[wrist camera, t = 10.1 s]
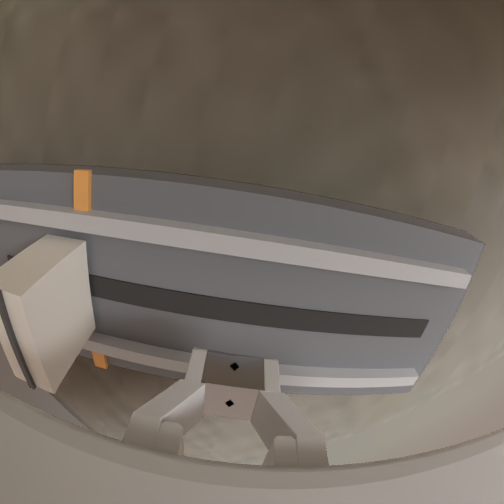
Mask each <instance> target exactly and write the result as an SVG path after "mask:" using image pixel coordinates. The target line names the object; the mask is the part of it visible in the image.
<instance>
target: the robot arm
mask: <svg viewBox="0 0 504 504" xmlns="http://www.w3.org/2000/svg"><path fill="white" fill-rule="evenodd" d="M203 415H208V416H216V417H225V418H232V419H239V420H247V421H251V423H252V425H253V427H254V428H255V430H256V431H257V433H258V435H259V436H260V438H261V439H262V441H263V442H264V444H265V446H266V447H267V449H268V450H269V451H268V453H267V455H266V458H265V460H264V462H263V464H262V465H248V464H237V463H227V462H219V461H211V460H204V459H198V458H192V457H186V456H184V444H183V436H184V435H185V434H186V433H187V432H188V431H189V430H190V429H191V428H192V427H193V426H194V425H195V424H196V423H197V422H198V421H199V420H200V419H201V418H202V417H203ZM0 504H504V428H503V429H500V430H497V431H495V432H492V433H489V434H487V435H484V436H481V437H478V438H475V439H472V440H469V441H466V442H462V443H459V444H456V445H452V446H449V447H445V448H441V449H437V450H434V451H429V452H425V453H420V454H415V455H410V456H406V457H400V458H394V459H388V460H381V461H374V462H366V463H356V464H345V465H331V466H329V464H328V457H327V451H326V444H325V438H324V435H323V434H322V433H321V432H320V431H319V430H318V429H317V428H316V427H315V426H314V424H313V423H312V422H311V421H310V420H309V419H308V418H307V417H306V416H305V415H304V414H303V413H302V411H301V410H300V409H299V408H298V407H297V406H296V405H295V404H294V403H293V401H292V400H291V399H290V398H289V397H288V396H287V395H286V394H285V393H283V392H281V391H280V377H279V363H278V359H277V358H267V357H256V356H247V355H239V354H232V353H225V352H220V351H214V350H207V349H201V348H196V347H194V348H193V349H192V353H191V356H190V360H189V364H188V368H187V372H186V375H185V379H184V380H183V379H180V380H178V381H177V382H175V383H174V384H173V385H171V386H170V387H168V388H167V389H165V390H164V391H163V392H161V393H160V394H158V395H157V396H155V397H154V398H153V399H151V400H150V401H148V402H147V403H145V404H144V405H142V406H141V407H139V408H138V409H136V410H135V411H133V413H132V416H131V419H130V422H129V424H128V427H127V430H126V433H125V435H124V438H123V441H120V440H117V439H113V438H110V437H107V436H104V435H101V434H98V433H95V432H93V431H90V430H87V429H84V428H82V427H79V426H77V425H74V424H71V423H69V422H66V421H64V420H61V419H59V418H57V417H55V416H53V415H50V414H48V413H46V412H44V411H42V410H40V409H37V408H35V407H33V406H31V405H29V404H27V403H25V402H24V401H22V400H20V399H18V398H16V397H14V396H12V395H10V394H9V393H7V392H5V391H3V390H2V389H0Z"/></svg>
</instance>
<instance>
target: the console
mask: <svg viewBox="0 0 504 504" xmlns="http://www.w3.org/2000/svg"><path fill="white" fill-rule="evenodd" d="M75 169H88V170H92V183H91V210H90V211H80V210H74V170H75ZM47 234H50V235H55V236H61V237H67V238H73V239H78V240H84V241H86V251H87V264H88V274H89V284H90V292H91V300H92V307H93V314H94V320H95V326H96V328H95V330H94V331H93V333H92V334H91V336H90V337H89V339H88V340H87V342H86V343H85V345H84V347H83V348H82V350H81V351H80V353H79V354H78V355H80V356H83V357H86V358H90V359H93V355H92V352H96V353H99V354H103V355H106V357H107V362H108V364H111V365H114V366H118V367H122V368H126V369H130V370H134V371H138V372H143V373H147V374H152V375H156V376H161V377H166V378H171V379H176V380H180V379H183V380H184V379H185V375H186V372H187V368H188V364H189V360H190V356H191V353H192V349H193V348H194V347H196V348H201V349H207V350H214V351H220V352H225V353H232V354H239V355H247V356H256V357H267V358H277V359H278V363H279V377H280V391H281V392H283V393H290V394H311V395H372V394H392V393H406V392H410V391H411V389H412V388H413V386H414V385H415V383H416V382H417V380H418V379H419V377H420V376H421V374H422V373H423V371H424V370H425V368H426V366H427V365H428V363H429V361H430V360H431V358H432V356H433V355H434V353H435V351H436V350H437V348H438V346H439V344H440V343H441V341H442V339H443V337H444V335H445V333H446V332H447V330H448V328H449V326H450V324H451V322H452V320H453V318H454V316H455V314H456V312H457V310H458V308H459V306H460V304H461V302H462V300H463V297H464V295H465V293H466V291H467V288H468V286H469V284H470V281H471V279H472V277H473V274H474V272H475V269H476V267H477V264H478V262H479V259H480V256H481V254H482V251H483V248H484V245H485V244H484V243H482V242H481V241H479V240H478V239H476V238H475V237H473V236H471V235H470V234H468V233H467V232H465V231H462V230H458V229H455V228H451V227H448V226H444V225H441V224H437V223H434V222H430V221H426V220H422V219H419V218H415V217H411V216H407V215H403V214H399V213H395V212H391V211H387V210H382V209H378V208H374V207H369V206H365V205H361V204H356V203H351V202H347V201H342V200H337V199H332V198H328V197H323V196H317V195H312V194H307V193H302V192H296V191H291V190H285V189H280V188H274V187H268V186H262V185H256V184H249V183H243V182H236V181H229V180H222V179H215V178H208V177H200V176H192V175H184V174H175V173H166V172H156V171H146V170H135V169H124V168H111V167H96V166H78V165H55V164H0V267H1V266H2V265H3V264H5V263H6V262H7V261H9V260H10V259H12V258H13V257H14V256H16V255H17V254H19V253H20V252H21V251H23V250H24V249H26V248H27V247H29V246H30V245H32V244H33V243H35V242H36V241H38V240H39V239H41V238H42V237H44V236H45V235H47ZM93 360H94V359H93Z"/></svg>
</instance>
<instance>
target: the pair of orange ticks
mask: <svg viewBox="0 0 504 504" xmlns="http://www.w3.org/2000/svg"><path fill="white" fill-rule="evenodd" d="M91 183H92V170H88V169H75V170H74V210H80V211H90V210H91ZM92 355H93V359H94V363H95V366H97V367H101V368H104V369H107V368H108V362H107V357H106V355H103V354H99V353H96V352H92Z"/></svg>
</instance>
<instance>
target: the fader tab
mask: <svg viewBox="0 0 504 504" xmlns="http://www.w3.org/2000/svg"><path fill="white" fill-rule="evenodd" d="M95 328H96V326H95V320H94V314H93V307H92V300H91V292H90V284H89V274H88V264H87V251H86V241H84V240H78V239H73V238H67V237H61V236H55V235H50V234H47V235H45V236H44V237H42V238H41V239H39V240H38V241H36V242H35V243H33V244H32V245H30V246H29V247H27V248H26V249H24V250H23V251H21V252H20V253H19V254H17V255H16V256H14V257H13V258H12V259H10V260H9V261H7V262H6V263H5V264H3V265H2V266H1V267H0V343H1V345H2V347H3V350H4V353H5V355H6V357H7V359H8V362H9V364H10V366H11V368H12V371H13V372H14V375H15V376H16V377H17V378H20V379H21V380H24V381H25V382H27V383H28V385H29V387H30V388H33V389H35V388H36V387H39V388H41V389H43V390H45V391H48V392H50V393H53V394H55V392H56V391H57V389H58V387H59V385H60V384H61V382H62V380H63V379H64V377H65V375H66V374H67V372H68V370H69V369H70V367H71V366H72V364H73V362H74V361H75V359H76V358H77V356H78V354H79V353H80V351H81V350H82V348H83V347H84V345H85V343H86V342H87V340H88V339H89V337H90V336H91V334H92V333H93V331H94V330H95Z"/></svg>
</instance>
